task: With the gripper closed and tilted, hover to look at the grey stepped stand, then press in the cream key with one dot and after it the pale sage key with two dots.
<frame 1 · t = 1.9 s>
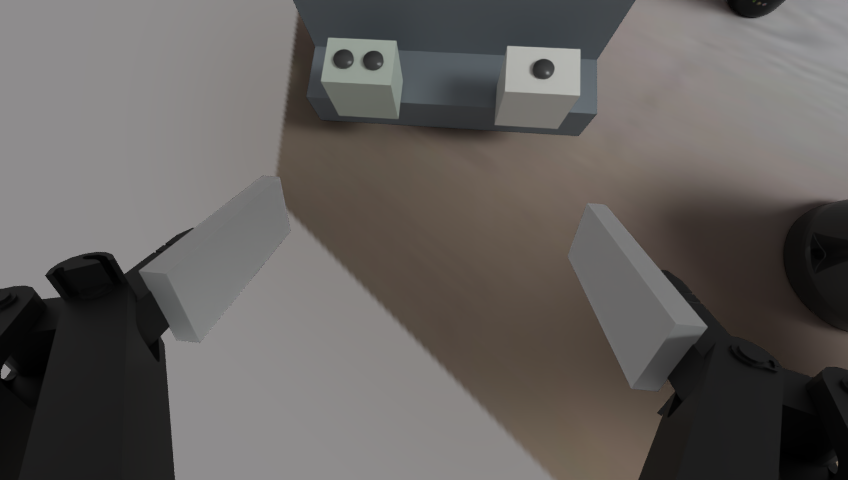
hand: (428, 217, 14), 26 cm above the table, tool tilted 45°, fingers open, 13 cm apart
key two: (365, 80, 35), point 9 cm above the table, slide at 0.0 cm
key one: (534, 89, 34), point 9 cm above the table, slide at 0.0 cm
grey stepped stand: (450, 80, 44), on the table
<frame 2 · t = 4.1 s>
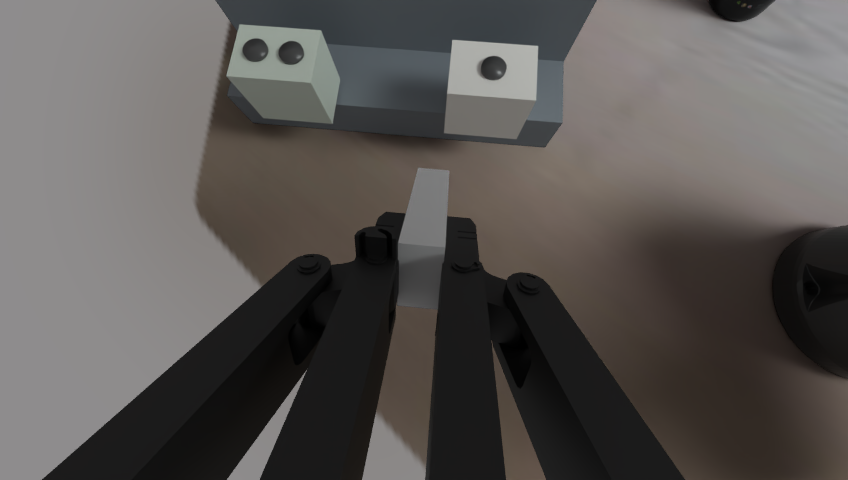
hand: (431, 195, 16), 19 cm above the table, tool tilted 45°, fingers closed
supplement bottle: (731, 2, 41), on the table
key two: (288, 76, 30), point 9 cm above the table, slide at 0.0 cm
key one: (487, 92, 29), point 9 cm above the table, slide at 0.0 cm
grey stepped stand: (403, 81, 39), on the table
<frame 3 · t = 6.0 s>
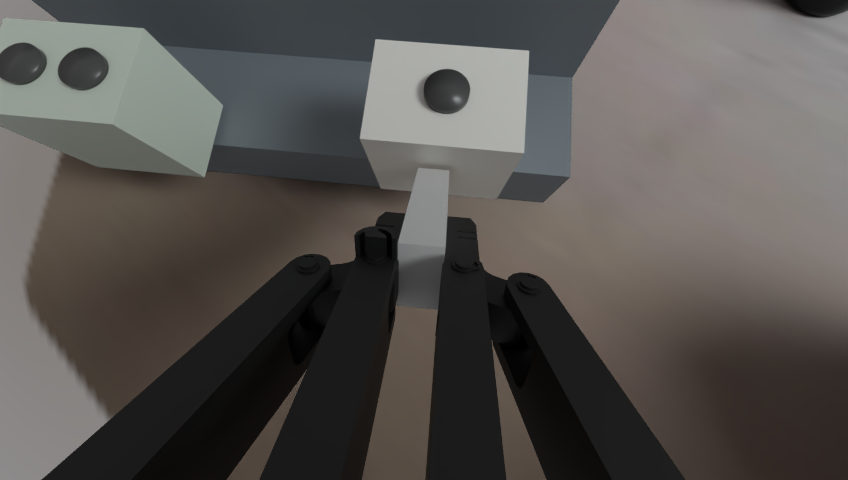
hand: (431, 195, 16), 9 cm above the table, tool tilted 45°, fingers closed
key two: (114, 106, 18), point 9 cm above the table, slide at 0.0 cm
key one: (444, 128, 17), point 9 cm above the table, slide at 0.4 cm, touching gripper
grey stepped stand: (339, 102, 27), on the table
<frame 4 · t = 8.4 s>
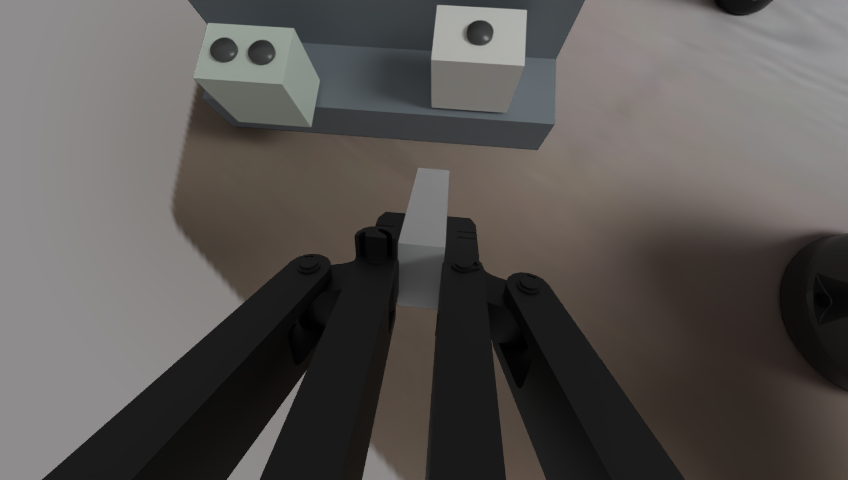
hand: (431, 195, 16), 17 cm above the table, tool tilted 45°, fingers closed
key two: (262, 78, 28), point 9 cm above the table, slide at 0.0 cm
key one: (475, 61, 28), point 9 cm above the table, slide at 3.0 cm
grey stepped stand: (389, 81, 37), on the table
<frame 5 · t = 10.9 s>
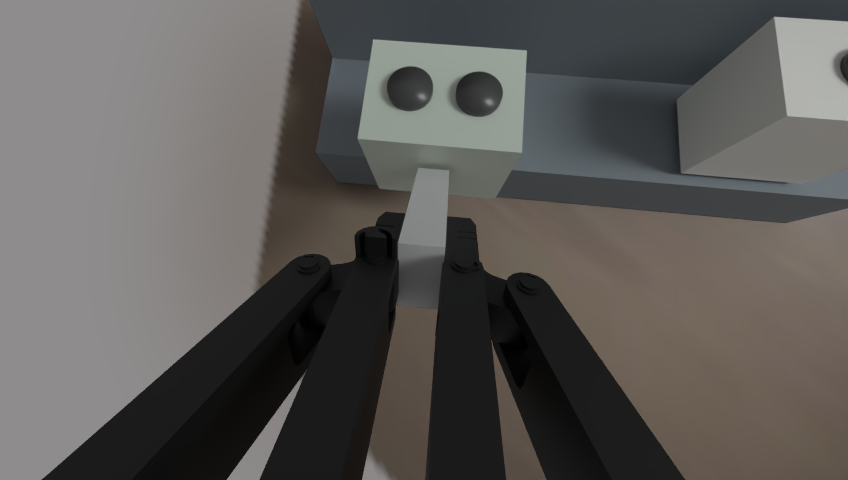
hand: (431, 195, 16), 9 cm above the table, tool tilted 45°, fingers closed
key two: (442, 128, 17), point 9 cm above the table, slide at 0.3 cm, touching gripper
key one: (793, 109, 17), point 9 cm above the table, slide at 3.0 cm
grey stepped stand: (557, 119, 26), on the table
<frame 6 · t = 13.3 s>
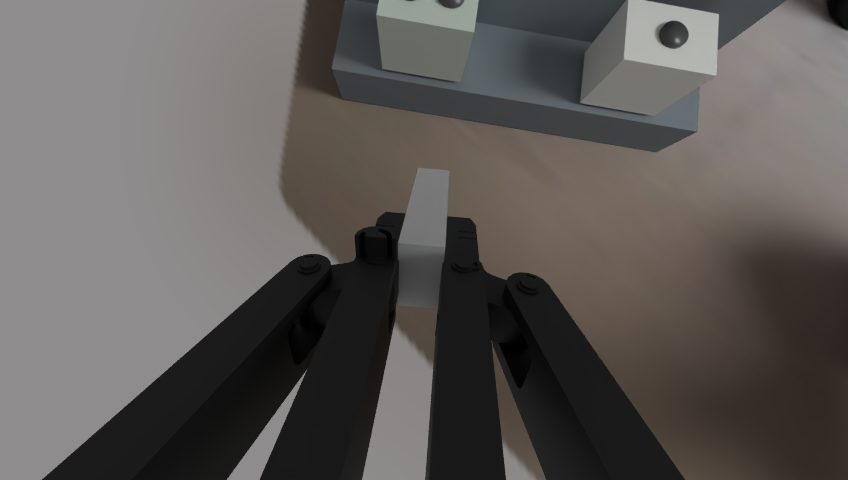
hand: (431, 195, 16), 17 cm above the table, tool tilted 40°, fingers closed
key two: (427, 22, 26), point 9 cm above the table, slide at 3.0 cm
key one: (644, 61, 27), point 9 cm above the table, slide at 3.0 cm
grey stepped stand: (509, 65, 35), on the table
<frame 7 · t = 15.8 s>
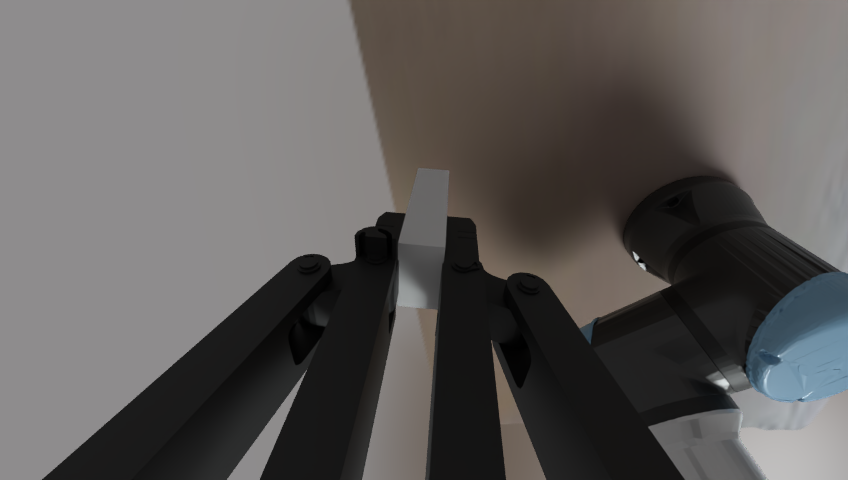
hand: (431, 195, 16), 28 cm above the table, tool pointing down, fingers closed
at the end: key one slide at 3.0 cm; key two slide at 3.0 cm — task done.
